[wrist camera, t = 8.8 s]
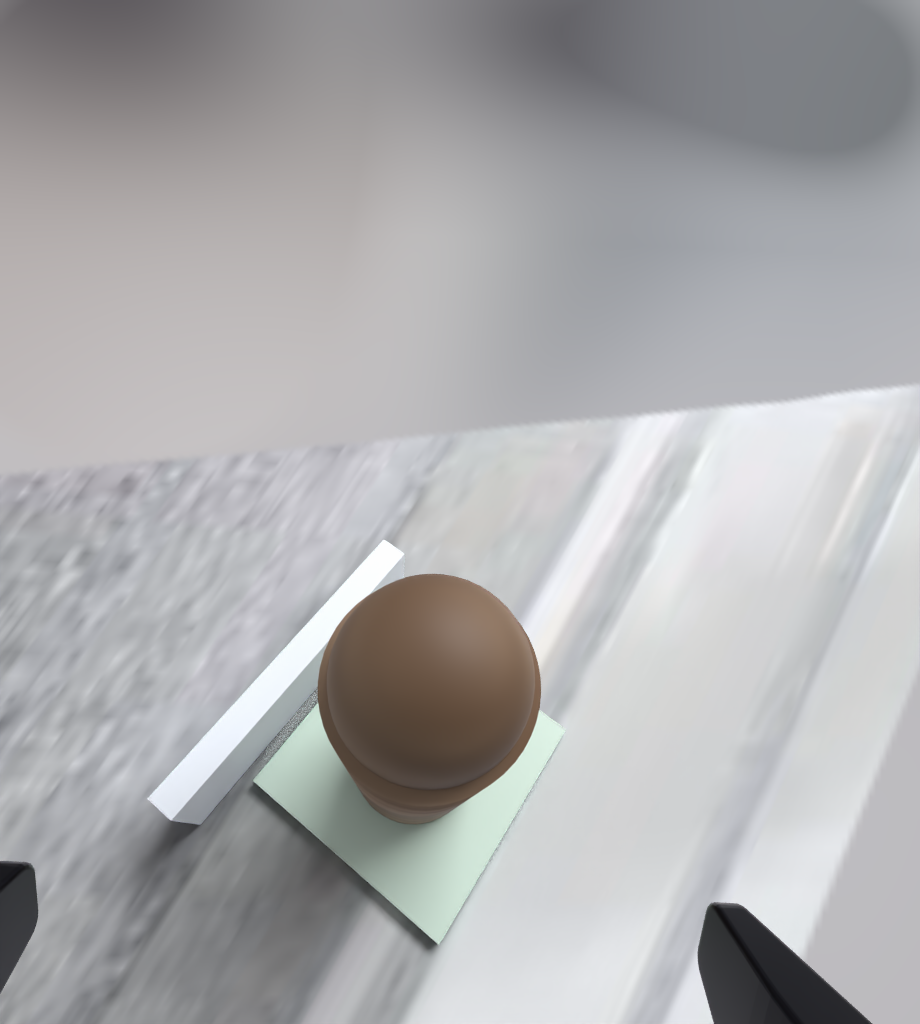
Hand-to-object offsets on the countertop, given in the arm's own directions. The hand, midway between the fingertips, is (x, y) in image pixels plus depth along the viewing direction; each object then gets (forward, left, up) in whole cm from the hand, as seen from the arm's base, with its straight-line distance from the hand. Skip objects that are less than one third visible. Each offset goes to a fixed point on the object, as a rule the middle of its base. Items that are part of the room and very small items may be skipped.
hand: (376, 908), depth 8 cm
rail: (+3, +7, -14) cm, 15 cm away
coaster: (+3, +1, -14) cm, 14 cm away
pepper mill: (+3, +1, -13) cm, 14 cm away
